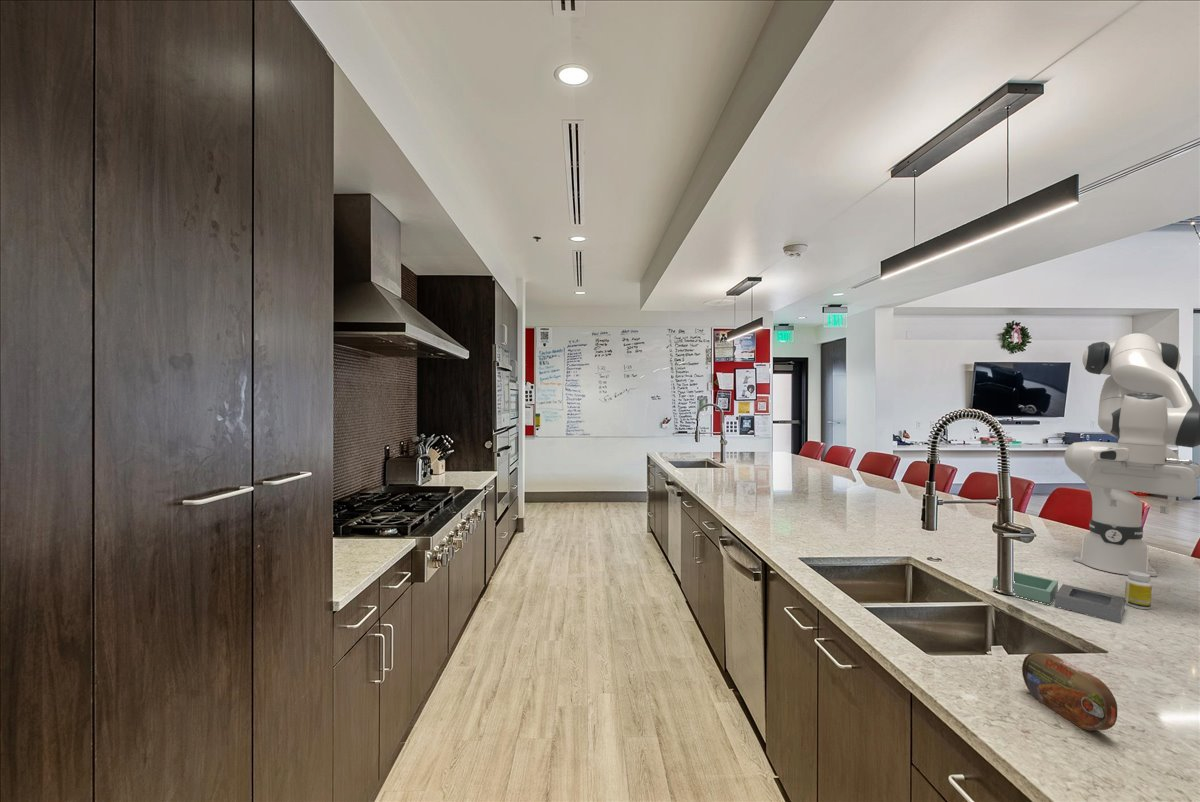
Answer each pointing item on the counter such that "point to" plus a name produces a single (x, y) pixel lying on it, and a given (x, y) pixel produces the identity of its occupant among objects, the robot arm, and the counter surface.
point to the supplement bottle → (1138, 590)
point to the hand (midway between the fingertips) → (1137, 509)
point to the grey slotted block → (1091, 602)
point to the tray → (1033, 587)
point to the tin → (1070, 691)
